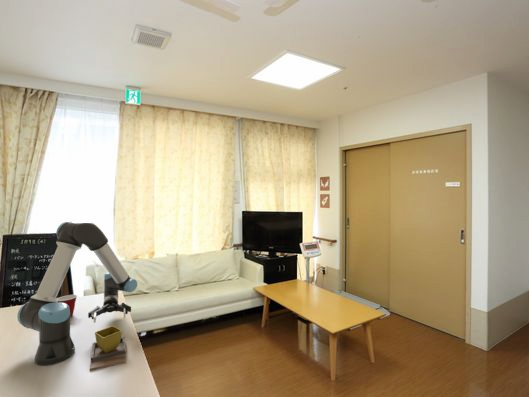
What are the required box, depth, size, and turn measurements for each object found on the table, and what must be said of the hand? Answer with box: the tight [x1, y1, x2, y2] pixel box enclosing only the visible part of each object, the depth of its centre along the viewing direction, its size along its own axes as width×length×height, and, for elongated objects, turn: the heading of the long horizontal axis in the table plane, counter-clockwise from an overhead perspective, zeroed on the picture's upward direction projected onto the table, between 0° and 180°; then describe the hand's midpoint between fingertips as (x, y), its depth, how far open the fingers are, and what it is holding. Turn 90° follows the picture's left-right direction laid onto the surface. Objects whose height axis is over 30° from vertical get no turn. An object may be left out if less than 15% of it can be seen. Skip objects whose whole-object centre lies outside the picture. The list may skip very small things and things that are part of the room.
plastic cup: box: [56, 294, 78, 318], centre depth 180 cm, size 11×11×12 cm
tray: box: [89, 336, 127, 372], centre depth 139 cm, size 20×14×2 cm
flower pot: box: [94, 325, 122, 353], centre depth 141 cm, size 9×9×9 cm
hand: (109, 317), depth 151 cm, fingers open, 13 cm apart
